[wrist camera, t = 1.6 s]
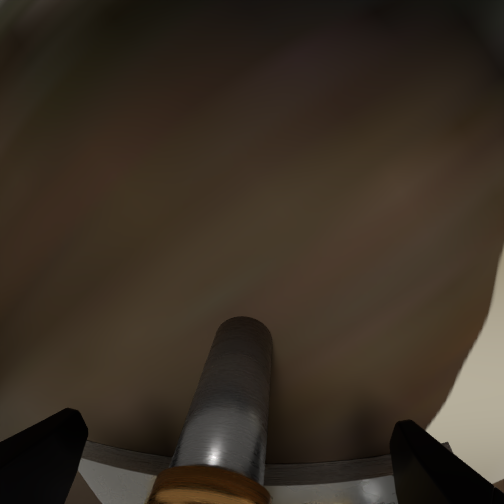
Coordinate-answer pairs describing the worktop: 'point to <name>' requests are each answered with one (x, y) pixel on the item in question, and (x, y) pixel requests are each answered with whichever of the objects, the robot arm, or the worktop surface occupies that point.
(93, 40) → the worktop surface
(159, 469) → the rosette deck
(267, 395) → the lever with copper knob
